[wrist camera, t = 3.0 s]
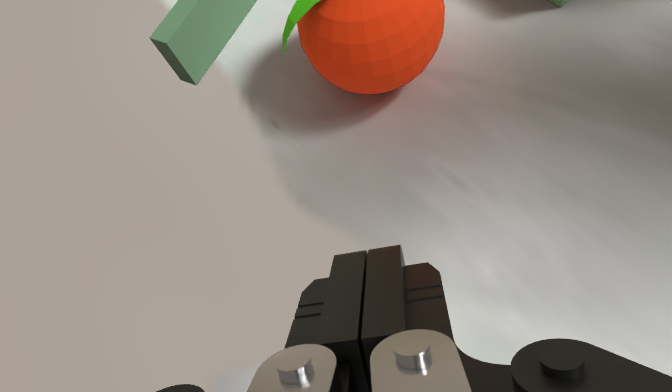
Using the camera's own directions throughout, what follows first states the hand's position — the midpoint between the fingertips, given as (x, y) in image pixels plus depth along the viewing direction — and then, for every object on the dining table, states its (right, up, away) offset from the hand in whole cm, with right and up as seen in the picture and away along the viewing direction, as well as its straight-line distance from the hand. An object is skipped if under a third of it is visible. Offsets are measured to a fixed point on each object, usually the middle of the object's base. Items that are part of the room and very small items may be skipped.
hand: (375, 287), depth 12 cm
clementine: (+1, +8, +16) cm, 18 cm away
